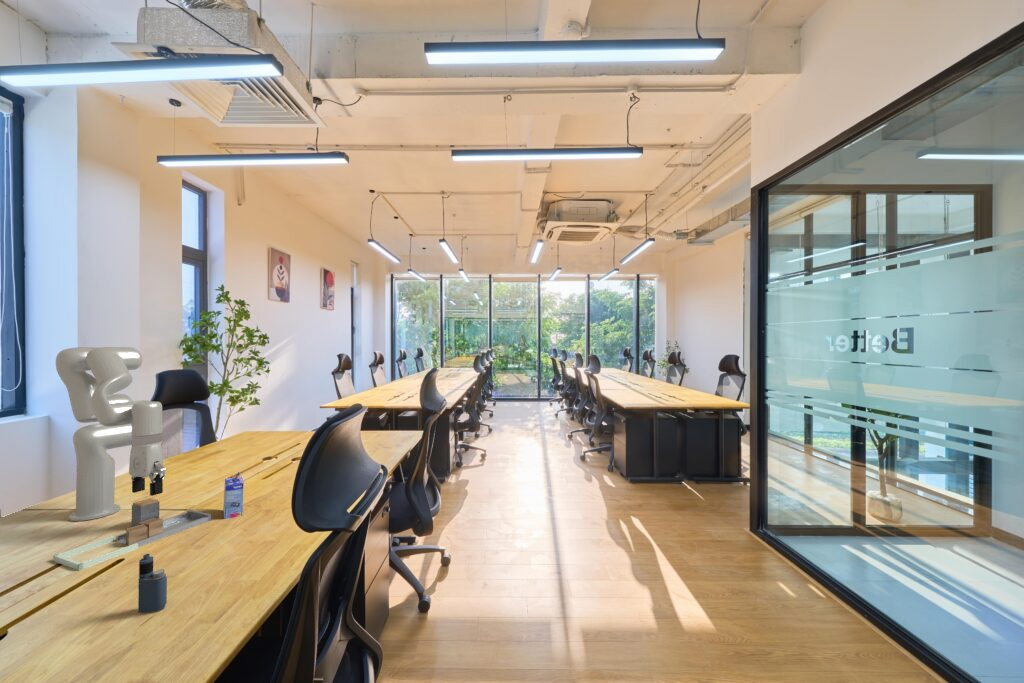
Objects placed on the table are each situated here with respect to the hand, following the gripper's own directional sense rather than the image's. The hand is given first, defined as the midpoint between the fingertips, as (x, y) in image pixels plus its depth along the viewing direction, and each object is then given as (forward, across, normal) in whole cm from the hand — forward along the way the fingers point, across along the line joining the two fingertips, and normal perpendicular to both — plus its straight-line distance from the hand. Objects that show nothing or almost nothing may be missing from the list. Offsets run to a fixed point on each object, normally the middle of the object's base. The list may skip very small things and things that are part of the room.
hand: (147, 492), depth 132 cm
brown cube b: (+11, +11, -8) cm, 17 cm away
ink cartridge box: (+12, +16, +17) cm, 26 cm away
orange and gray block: (+11, -1, 0) cm, 11 cm away
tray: (+12, +10, -16) cm, 22 cm away
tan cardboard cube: (+11, +9, -4) cm, 14 cm away
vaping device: (+13, +51, -24) cm, 58 cm away
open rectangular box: (+12, +10, 0) cm, 15 cm away
